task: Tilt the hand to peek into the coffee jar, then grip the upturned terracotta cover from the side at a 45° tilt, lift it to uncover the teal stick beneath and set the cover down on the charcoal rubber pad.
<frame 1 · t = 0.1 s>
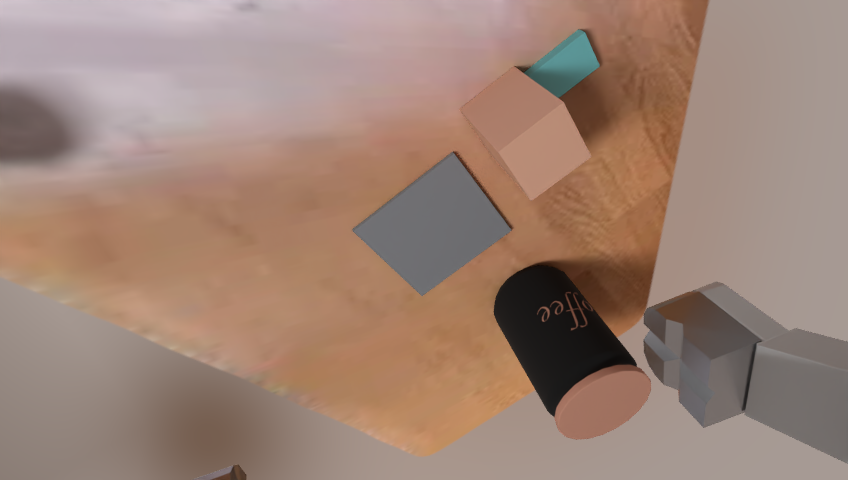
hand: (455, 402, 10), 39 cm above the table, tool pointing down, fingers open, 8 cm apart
stick: (532, 85, 51), on the table
cover: (501, 112, 51), on the table
coffee jar: (527, 293, 67), on the table
pad: (435, 228, 57), on the table
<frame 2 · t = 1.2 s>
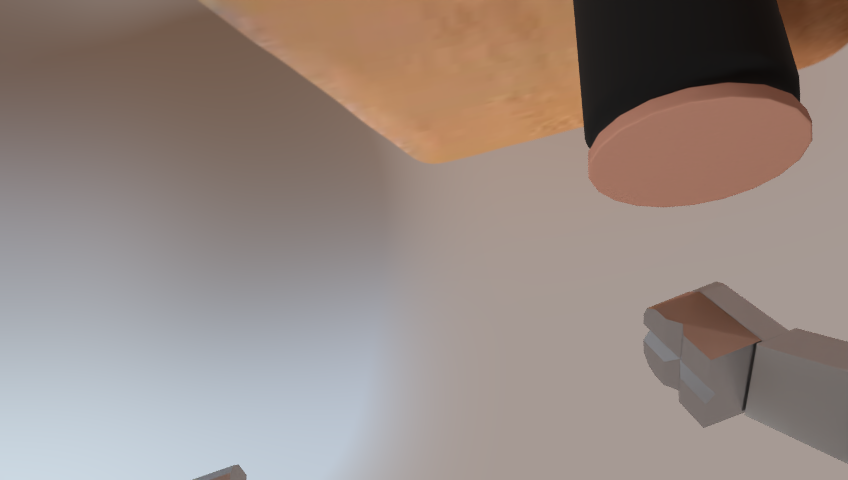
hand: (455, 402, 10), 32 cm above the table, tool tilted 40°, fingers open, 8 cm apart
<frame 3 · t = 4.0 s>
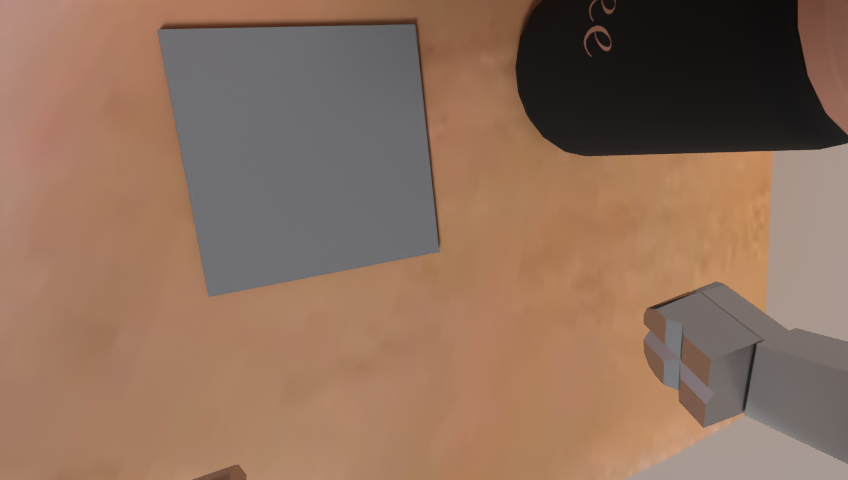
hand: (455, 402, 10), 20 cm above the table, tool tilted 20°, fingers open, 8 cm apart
coffee jar: (574, 74, 34), on the table
pad: (314, 154, 28), on the table
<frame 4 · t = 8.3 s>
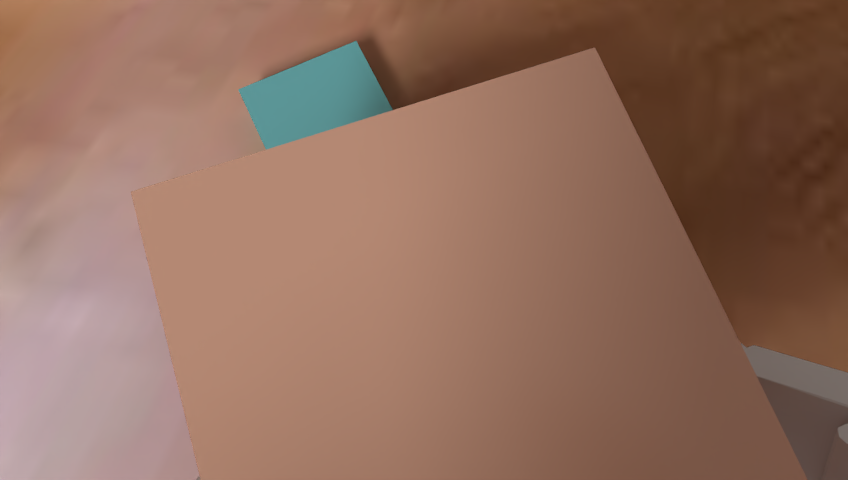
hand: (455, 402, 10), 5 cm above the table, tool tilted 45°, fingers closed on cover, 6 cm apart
stick: (382, 243, 17), on the table
cover: (428, 361, 15), on the table, touching gripper
when the fingers open (7 cm above the table, at t = 13.7 s): cover drops 2 cm, resting on pad.
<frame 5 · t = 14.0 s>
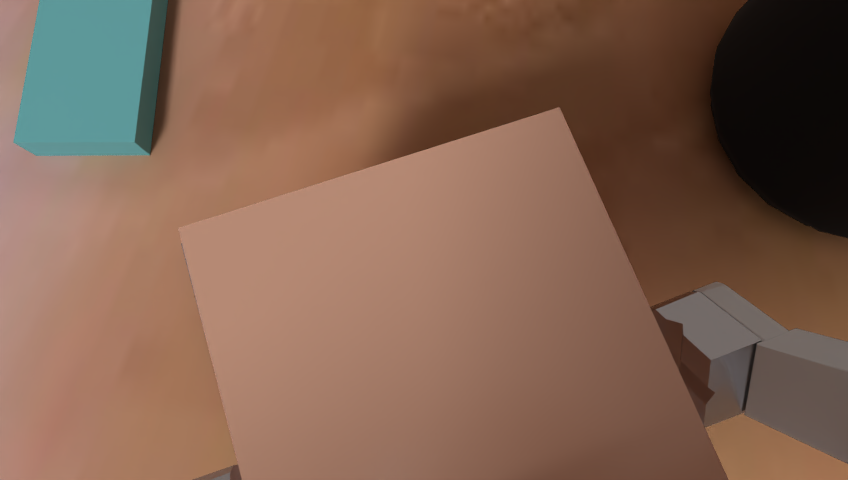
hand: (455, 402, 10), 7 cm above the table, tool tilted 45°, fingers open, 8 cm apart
stick: (120, 19, 21), on the table
cover: (424, 364, 17), resting on pad
coffee jar: (827, 119, 20), on the table
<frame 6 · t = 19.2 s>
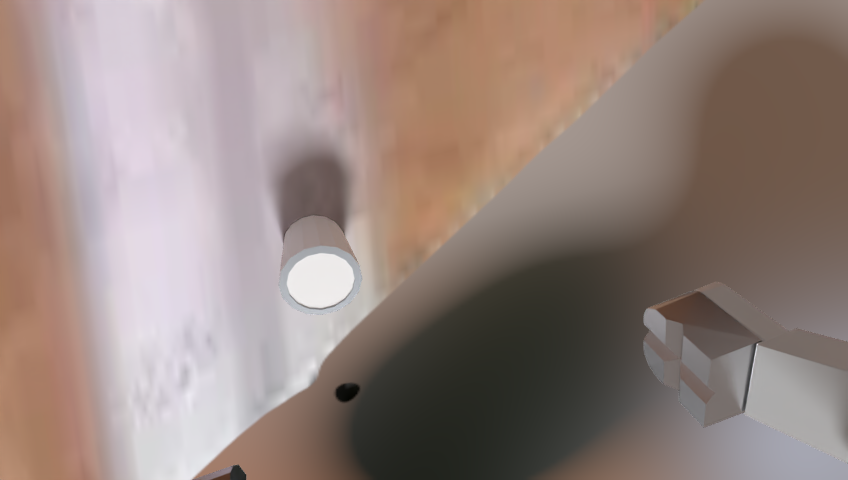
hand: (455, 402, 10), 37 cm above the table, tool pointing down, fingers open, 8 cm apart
white cylinder: (314, 240, 49), on the table
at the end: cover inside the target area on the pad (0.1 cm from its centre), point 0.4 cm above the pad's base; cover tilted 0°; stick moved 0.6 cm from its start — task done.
